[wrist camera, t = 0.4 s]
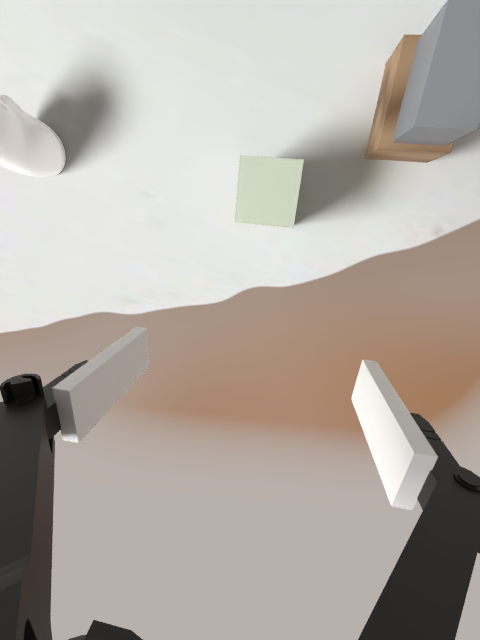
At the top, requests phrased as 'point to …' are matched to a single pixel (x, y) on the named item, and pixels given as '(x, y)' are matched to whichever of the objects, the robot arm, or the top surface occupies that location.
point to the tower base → (397, 111)
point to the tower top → (444, 79)
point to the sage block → (268, 190)
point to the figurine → (28, 143)
